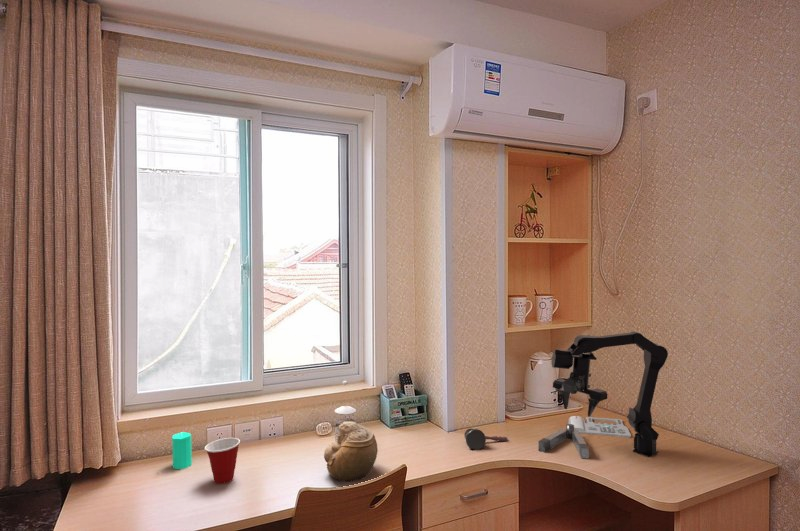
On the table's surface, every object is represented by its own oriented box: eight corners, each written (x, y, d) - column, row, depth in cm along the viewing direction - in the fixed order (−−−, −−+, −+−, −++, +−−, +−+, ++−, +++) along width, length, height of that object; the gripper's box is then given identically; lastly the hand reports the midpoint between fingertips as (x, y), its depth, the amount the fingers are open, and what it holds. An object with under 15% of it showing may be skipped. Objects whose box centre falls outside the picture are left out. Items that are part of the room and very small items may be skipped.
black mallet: (465, 449, 180) (460, 444, 188) (512, 454, 181) (505, 448, 190) (467, 428, 181) (462, 424, 189) (514, 433, 182) (507, 428, 191)
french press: (328, 450, 181) (327, 383, 180) (339, 439, 192) (339, 375, 192) (353, 453, 178) (353, 384, 178) (363, 441, 190) (362, 377, 189)
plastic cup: (208, 474, 161) (207, 438, 161) (242, 471, 164) (241, 435, 164) (201, 489, 151) (201, 450, 151) (238, 485, 153) (238, 447, 153)
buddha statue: (331, 461, 171) (332, 411, 172) (380, 464, 170) (381, 414, 170) (315, 486, 152) (316, 430, 152) (370, 490, 150) (371, 433, 150)
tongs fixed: (565, 435, 194) (565, 422, 194) (575, 437, 191) (575, 425, 191) (538, 450, 179) (538, 437, 179) (549, 453, 176) (549, 440, 176)
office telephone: (568, 427, 198) (567, 412, 217) (568, 433, 198) (567, 418, 217) (631, 432, 191) (624, 416, 210) (631, 439, 191) (624, 422, 210)
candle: (173, 463, 170) (172, 429, 170) (192, 460, 173) (191, 426, 172) (172, 470, 165) (171, 435, 165) (191, 467, 167) (190, 432, 167)
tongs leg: (571, 439, 189) (571, 430, 189) (578, 439, 189) (578, 430, 189) (581, 458, 171) (581, 447, 171) (589, 458, 171) (589, 448, 171)
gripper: (546, 366, 180) (542, 408, 180) (594, 378, 166) (590, 424, 166) (562, 363, 187) (558, 404, 188) (610, 375, 173) (606, 419, 174)
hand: (577, 412), depth 179 cm, fingers open, 9 cm apart
